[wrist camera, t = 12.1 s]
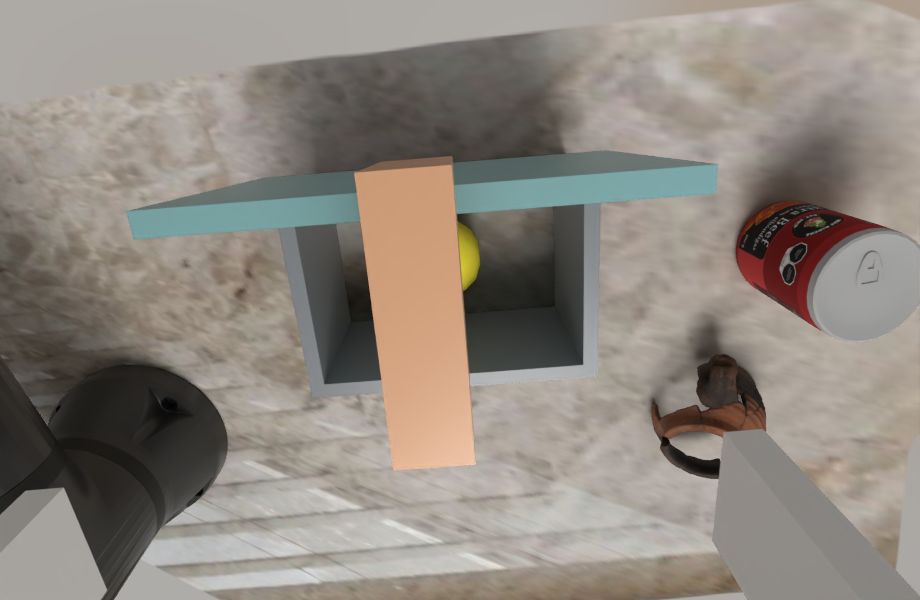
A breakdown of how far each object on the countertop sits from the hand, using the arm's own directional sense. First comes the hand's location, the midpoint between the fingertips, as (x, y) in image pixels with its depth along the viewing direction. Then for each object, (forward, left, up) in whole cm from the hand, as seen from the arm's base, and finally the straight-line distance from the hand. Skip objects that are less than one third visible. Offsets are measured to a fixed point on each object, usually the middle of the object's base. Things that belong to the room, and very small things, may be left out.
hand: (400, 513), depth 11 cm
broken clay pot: (+23, -20, -36) cm, 47 cm away
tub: (0, -4, -36) cm, 36 cm away
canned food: (+28, -6, -36) cm, 46 cm away
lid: (0, -3, -14) cm, 14 cm away
